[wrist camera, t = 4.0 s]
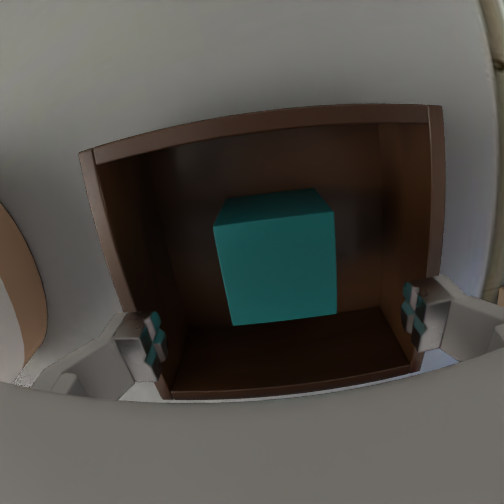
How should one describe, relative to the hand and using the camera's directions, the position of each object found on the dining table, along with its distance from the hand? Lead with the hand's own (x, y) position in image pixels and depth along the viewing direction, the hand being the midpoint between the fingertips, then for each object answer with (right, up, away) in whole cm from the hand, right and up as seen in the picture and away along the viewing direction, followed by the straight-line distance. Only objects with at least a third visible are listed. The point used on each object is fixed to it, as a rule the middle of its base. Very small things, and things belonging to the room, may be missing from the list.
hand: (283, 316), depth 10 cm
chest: (0, +3, +8) cm, 8 cm away
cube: (0, +3, +7) cm, 8 cm away
